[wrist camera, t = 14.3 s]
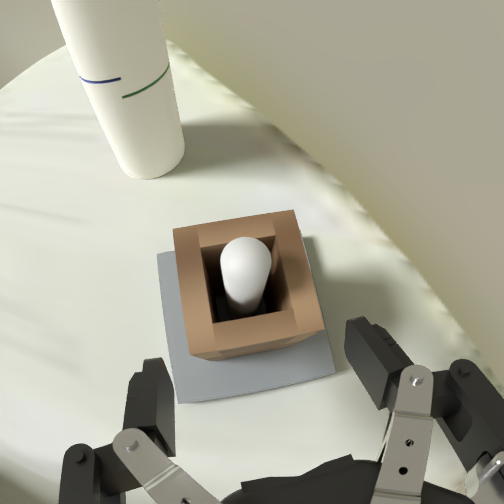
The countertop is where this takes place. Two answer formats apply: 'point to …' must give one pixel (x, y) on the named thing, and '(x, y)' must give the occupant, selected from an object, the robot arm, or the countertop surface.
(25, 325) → the countertop surface
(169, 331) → the post stand
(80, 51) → the cylindrical container
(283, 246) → the collar
